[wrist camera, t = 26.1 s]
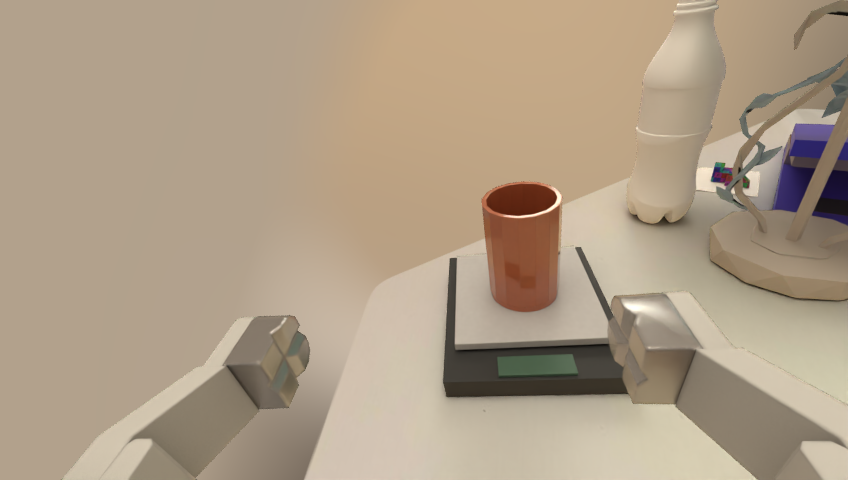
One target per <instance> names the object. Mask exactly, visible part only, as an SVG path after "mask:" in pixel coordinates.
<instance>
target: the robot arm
mask: <svg viewBox="0 0 848 480" xmlns="http://www.w3.org/2000/svg"><path fill="white" fill-rule="evenodd" d="M611 310H612V312H613V314H614V317H613V318H612V319H611V320H609V321H608V329H607V335H608V343H609V347H610V351H611V353H612V356H613V358H614V361H616V362H617V363H618V364H620V365H621V366H622V367H623V372H622V380H623V382H624V384H625V386H626V389H627V391H628V393H629V396H630V398H631V400H632V403H633V404H676V406H675V407H677V408H678V409H679V410H680V411H681V412H682V413H683V414H684V415H686V416H687V417H688V418H689V419H690V420H691V421H692V422H693V423H695V424H696V425H697V426H698V427H699V428H700V429H701V430H703V431H704V432H705V433H706V434H707V435H708V436H709V437H710V438H712V439H713V440H714V441H715V442H716V443H717V444H718V445H719V446H721V447H722V448H723V449H724V450H725V451H726V452H727V453H728V454H730V455H731V456H732V457H733V458H734V459H735V460H736V461H738V462H739V463H740V464H741V465H742V466H743V467H744V468H745V469H747V470H748V471H749V472H750V473H751V474H752V475H753V476H754V477H756V478H757V479H758V480H848V405H847V404H845V403H843V402H841V401H840V400H838V399H836V398H834V397H832V396H830V395H829V394H827V393H825V392H823V391H821V390H819V389H818V388H816V387H814V386H812V385H810V384H808V383H807V382H805V381H803V380H801V379H799V378H797V377H796V376H794V375H792V374H790V373H788V372H786V371H785V370H783V369H781V368H779V367H777V366H775V365H774V364H772V363H770V362H768V361H766V360H764V359H763V358H761V357H759V356H757V355H755V354H753V353H751V352H750V351H748V350H746V349H744V348H734V347H733V345H732V344H731V343H730V342H729V340H728V339H727V338H726V337H725V335H724V334H723V333H722V332H721V330H720V329H719V328H718V327H717V325H716V324H715V323H714V321H713V320H712V319H711V318H710V316H709V315H708V314H707V313H706V311H705V310H704V309H703V308H702V306H701V305H700V304H699V303H698V301H697V300H696V299H695V298H694V296H693V295H692V294H691V293H689V292H687V291H677V292H662V293H649V294H635V295H620V296H614V298H613V299H612V302H611ZM299 326H300V325H299V323H298V321H297V319H296V317H295V316H290V315H289V316H259V317H241V318H240V319H238V320H236V321H235V322H234V324H233V325H232V327H231V328H230V329H229V331H228V332H227V334H226V335H225V336H224V338H223V339H222V341H221V342H220V343H219V345H218V346H217V347H216V349H215V350H214V352H213V353H212V355H211V356H210V357H209V359H208V360H207V362H206V363H205V364H204V366H203V367H197V368H195V369H194V370H192V371H191V372H189V373H188V374H187V375H185V376H184V377H182V378H181V379H179V380H178V381H177V382H175V383H174V384H172V385H171V386H169V387H168V388H167V389H165V390H164V391H162V392H161V393H159V394H158V395H156V396H155V397H154V398H152V399H151V400H149V401H148V402H146V403H145V404H144V405H142V406H141V407H139V408H138V409H136V410H135V411H134V412H132V413H131V414H129V415H128V416H126V417H125V418H123V419H122V420H121V421H119V422H118V423H116V424H115V425H113V426H112V427H111V428H109V429H108V430H106V431H105V432H103V433H102V434H101V435H100V436H98V437H97V438H96V439H95V440H94V442H93V443H92V444H91V445H90V446H89V447H88V449H87V450H86V451H85V452H84V453H83V455H82V456H81V457H80V458H79V459H78V461H77V462H76V463H75V464H74V465H73V466H72V468H71V469H70V470H69V471H68V473H67V474H66V475H65V476H64V477H63V478H62V480H197V479H195V478H196V477H197V476H198V475H199V474H200V473H201V472H202V470H204V469H205V467H206V466H207V465H208V464H209V463H210V462H211V461H212V460H213V459H214V458H215V457H216V456H217V455H218V454H219V453H220V452H221V451H222V450H223V449H224V448H225V447H226V445H227V444H228V443H229V442H230V441H231V440H232V439H233V438H234V437H235V436H236V435H237V434H238V433H239V432H240V431H241V430H242V429H243V428H244V427H245V426H246V425H247V424H248V423H249V421H250V420H251V419H252V418H253V417H254V416H255V415H256V414H257V413H258V412H259V409H277V408H289V406H290V404H291V402H292V399H293V397H294V395H295V393H296V390H297V388H298V386H299V384H298V381H297V377H298V376H299V375H300V374H302V373H303V372H304V371H305V369H306V367H307V364H308V362H309V355H310V347H309V343H308V340H307V338H306V336H305V335H303V334H301V333H300V332H299V331H298V328H299Z"/></svg>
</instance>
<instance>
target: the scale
mask: <svg viewBox="0 0 848 480" xmlns="http://www.w3.org/2000/svg"><path fill="white" fill-rule="evenodd" d="M613 317H614V316H613V314H612V312H611V309H610V307H609V305H608V303H607V301H606V299H605V297H604V295H603V293H602V291H601V289H600V286H599V284H598V282H597V280H596V278H595V276H594V274H593V272H592V270H591V268H590V266H589V263H588V261H587V259H586V257H585V255H584V253H583V251H582V249H581V247H574V246H565V247H561V251H560V278H559V289H558V295H557V298H556V299H555V301H554V302H553V303H552V304H551V305H549V306H548V307H546V308H544V309H541V310H538V311H533V312H518V311H513V310H510V309H507V308H505V307H503V306H501V305H500V304H498V303H497V302H496V301H495V300H494V298H493V297H492V294H491V290H490V280H489V270H488V260H487V253H485V254H474V255H463V256H457V258H450V266H449V284H448V303H447V321H446V340H445V359H444V377H443V384H444V388H445V392H446V396H447V397H460V396H513V395H566V394H619V393H628V391H627V389H626V386H625V384H624V382H623V380H622V372H623V367H622V366H621V365H620V364H618V363H617V362H616V361H614V358H613V356H612V353H611V351H610V347H609V343H608V335H607V329H608V321H609V320H611V319H612V318H613Z"/></svg>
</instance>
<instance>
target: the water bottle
mask: <svg viewBox="0 0 848 480" xmlns="http://www.w3.org/2000/svg"><path fill="white" fill-rule="evenodd" d="M717 1H718V0H679V4H677V6H676V7H677V10H676V11H674V13H673V15H676V17H675V21H674V24H673V27H672V29H671V31H670V33H669V35H668V37H667V38H666V40H665V41H664V43H663V44H662V46H661V48H660V49H659V50H658V52H657V53H656V55H655V56H654V58H653V59H652V61H651V63H650V64H649V66H648V68H647V70H646V72H645V75H644V78H643V82H642V84H643V90H642V97H641V104H640V111H639V118H638V125H637V126H636V130H635V131H636V139H637V154H636V161H635V166H634V169H633V172H632V175H631V178H630V180H629V182H628V186H627V193H626V201H627V206H628V209H629V211H630V213H632V214H633V215H637V216H638V217H639V219H640V220H642V221H643V222H646V223H651V224H654V223H658V222H659V221H660V220H661V219H662V217H663V216H665V218H666V219H667V221H668V222H675V221H677V220H679V219H680V218H682V217H683V216H684V215H685V213H686V212H687V211H688V210H689V208H690V206H691V204H692V202H693V199H694V195H695V191H696V169H697V164H698V159H699V156H700V153H701V150H702V147H703V145H704V142H705V140H706V138H707V136H708V134H709V132H710V130H711V128H712V124H711V123H712V119H713V115H714V111H715V107H716V104H717V99H718V96H719V92H720V88H721V84H722V81H723V80H724V78H725V73H726V65H725V59H724V55H723V52H722V49H721V46H720V43H719V40H718V38H717V35H716V32H715V28H714V12H715V10H716V9H718V8H719V5H717V4H716V2H717Z"/></svg>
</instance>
